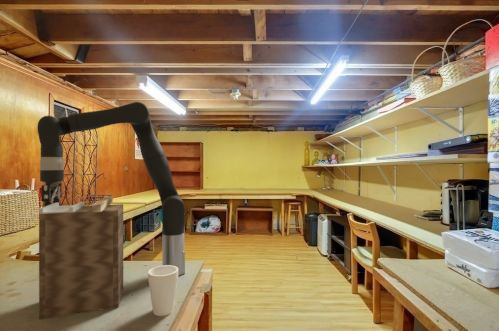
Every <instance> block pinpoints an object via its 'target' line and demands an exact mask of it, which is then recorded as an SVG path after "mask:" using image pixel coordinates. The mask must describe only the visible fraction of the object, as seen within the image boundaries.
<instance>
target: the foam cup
mask: <svg viewBox="0 0 499 331" xmlns="http://www.w3.org/2000/svg"><path fill="white" fill-rule="evenodd" d="M178 278H179V275H178V267H176V266H172V265H163V266H162V265H159V266H158V265H157V266H154V267H152V268H150V269H149V270H148V272H147V281H148V287H149V293H150V294H149V295H150V300H151V301H150V302H151V307H152V313H154V314H155V315H154V314H153V315H154V316H156V315H157V316H158V317H164V316H169V315H171V314H172V313H173V312H174V308H175V301H176V294H177V287H178V286H177V285H178V280H179V279H178ZM157 316H156V317H157Z"/></svg>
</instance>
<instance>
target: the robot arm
mask: <svg viewBox="0 0 499 331" xmlns="http://www.w3.org/2000/svg"><path fill="white" fill-rule="evenodd" d="M149 110H150V109H149V108H148V106H147V105H146V104H144V103H143V102H140V101H135V102H134V101H133V102H130V103H128V104H123V105H120V106H117V107H112V108H108V109H102V110H95V111H93V110H92V111H86V112H85V111H84V112H78V113H72V114H69V115H68V116H64V117H55V116H52V115H44V116H42V117H41V118H39V120H38V121H37V134H38V138H39V143H40V159H39V160H40V161H39V181H40V183H41V182H42V183H45V185H44V184H43V185H41V196H40V197H41V200H40V201H41V202H42V203H43V207H45V206H48V205H50V204H53V203H58V202H59V206H61V204H60V203H61V202H60V201H61V199H62V198H63V193H62V192H63V190H62V188H63V187H62V186H63V184H62V183H60V182H64V181H65V168H64V167H65V163H64V147H63V144H62V143H61V137H60V136H64V135H69V134H72V133H75V132H76V133H77V132H78V133H79V132H85V131H93V130H96V129H100V128H104V127H108V126H112V125H116V124H117V125H118V124H130V125H131V128H132V130H133V131H134V133H135V135H136V137H137V141H138V144H139V148H140V153H141V156H142V160H143V163H144V165H145V167H146V171H147V173H148V175H149V177H150V178H151V179H150V180H152V182H153V184H154V186H155V187H156V189H157V192H158V195H159V199H160V203H161V208H162V209H161V210H162V213H161V214H162V222H161V225H162V226H161V229H162V230H161V232H162V233H161V234H162V235H161V236H162V248H161V249H162V250H161V253H162V258H161V259H162V261H161V262H162V263H161V264H162V265H161V266H163V265H172V266H176V267H178V276H182V275H185V274H186V251H185V226H186V224H185V223H186V206H185V203H184V201H183V199H182V198H181V197H180V195H179V193H178V191H177V189H176V187H175V183H174V180H173V176H172V170H171V168H170V164H169V161H168V158H167V156H166V154H165V150H164V148H163V147H162V145H161V143H160V141H159V140H158V137H157V136H156V133H155V131H154V127H153V125H152V120H151V116H150V111H149Z"/></svg>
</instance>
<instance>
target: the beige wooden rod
mask: <svg viewBox="0 0 499 331" xmlns="http://www.w3.org/2000/svg"><path fill="white" fill-rule="evenodd" d="M113 202H114V201H113V195H106V196H104V197H103V198H101V199H99V200H97V201H96V202H94V203H93V204H92V205H91V206H92V212H101V211H103V210H104V209H105V208H106V207H107V206H108V205H112V203H113Z"/></svg>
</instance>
